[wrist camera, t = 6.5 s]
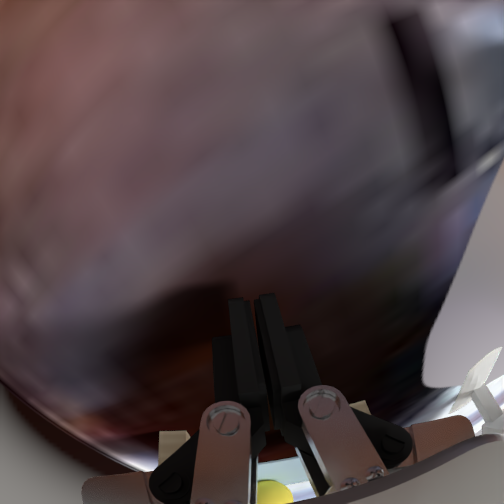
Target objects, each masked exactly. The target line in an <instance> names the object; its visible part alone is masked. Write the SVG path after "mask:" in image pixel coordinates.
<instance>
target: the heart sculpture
mask: <svg viewBox="0 0 504 504" xmlns="http://www.w3.org/2000/svg"><path fill="white" fill-rule="evenodd" d="M501 349H502V347H500V348H497V349H495V350H493V351H491V352H490V353H488V354H487V355H486V356H485V357H484V358H483V359H481V360H480V361H479V362H478V363H477V364H476V365H475V366H474V367H473V368H472V369H471V370H470V371H469V372H468V374H467V376H466V379H465V381H464V383H463V385H462V388H461V390H460V392H459V394H458V396H457V398H456V401H455V403H454V405H453V407H452V409H451V411H450V413H452V412H455V411H457V410H459V409H460V408H462V407H464V406H465V405H466V404H468V403H469V402H470V401H471V400H473V402H474V403H475V405H476V407H477V409H478V410H479V412H480V414H481V416H482V417H483V419H484V421H485V424H483V425H482V435H483V434H489V433H502V434H504V409H503V410H501V408H500V407H499V405H498V403H497V402H496V400H495V399H494V397H493V395H492V394H491V392H490V391H489V389H488V387H487V386H486V384H485V382H486V380H487V377H488V376H489V374H490V372H491V370H492V368H493V366H494V364H495V362H496V360H497V358H498V355H499V353H500V351H501ZM450 413H449V414H450Z"/></svg>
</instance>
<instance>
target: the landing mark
mask: <svg viewBox="0 0 504 504" xmlns="http://www.w3.org/2000/svg"><path fill="white" fill-rule="evenodd" d="M264 480H273V481H277V482H280V483H282V484H283V485H289V484H294V483H299V482H304V481H308V480H309V479H308V477H307V475H306V472H305V470H304V468H303V466H302V463H301V461H300V459H299V456H297V457H292V458H287V459H281V460H275V461H269V462H263V463H258V480H257V482H259V481H264Z"/></svg>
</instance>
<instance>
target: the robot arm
mask: <svg viewBox="0 0 504 504" xmlns="http://www.w3.org/2000/svg"><path fill="white" fill-rule="evenodd" d="M228 304H229V314H230V324H231V333H232V335H228V336H220V337H213V338H212V352H213V373H214V391H215V404H213V405H211V406H210V407H208V408H207V409H206V411H205V412H204V413H203V416H202V419H201V424H200V429H199V430H198V431H197V432H196V433H195V434H194V435H193V436H192V437H191V438H190V439H188V440H187V441H186V442H185V443H184V444H183V445H182V446H181V447H180V448H179V449H177V450H176V451H175V452H174V453H173V454H172V455H171V456H170V457H168V458H167V459H166V460H165V461H164V462H163V463H161V464H160V465H159V466H158V467H157V468H156V469H155V470H154V471H150V472H143V471H139V472H133V473H126V474H118V475H109V476H101V477H100V476H99V477H93V478H89V479H88V480H86V481H85V482H84V484H83V486H82V500H83V504H257V480H258V454H259V452H260V451H261V450H262V449H263V448H264V447H265V446H266V438H265V431H270V426H269V414H268V402H267V395H268V400H269V405H270V410H271V415H272V420H273V425H274V429H275V430H277V429H280V430H281V435H282V436H284V439H285V442H287V443H289V444H291V445H293V446H294V447H295V450H296V452H297V454H298V456H299V459H300V461H301V463H302V466H303V468H304V470H305V472H306V475H307V477H308V479H309V481H310V484H311V486H312V488H313V490H314V492H315V495H316V497H315V498H311V499H307V500H302V501H297V502H292V503H286V504H504V434H502V433H489V434H483V435H479V436H475V434H474V430H473V427H472V424H471V422H470V421H469V420H468V419H467V418H466V417H464V416H461V415H456V416H451V417H447V418H443V419H438V420H433V421H429V422H423V423H418V424H412V425H411V426H410V427H406V428H402V427H400V426H398V425H395V424H393V423H390V422H387V421H385V420H382V419H380V418H377V417H375V416H372V415H370V414H367V413H365V412H362V411H360V410H357V409H355V408H353V407H350V406H349V404H348V402H347V401H346V399H345V397H344V396H343V395H342V393H341V392H340V391H339V390H337V389H335V388H334V387H330V386H325V385H322V384H321V381H320V378H319V375H318V372H317V369H316V366H315V364H314V361H313V358H312V355H311V352H310V349H309V346H308V344H307V341H306V338H305V335H304V332H303V330H302V327H301V326H300V325H295V326H289V327H284V323H283V320H282V317H281V313H280V310H279V307H278V303H277V300H276V297H275V294H274V293H270V294H263V295H259V299H256V300H254V306H255V316H256V326H257V336H258V343H257V338H256V333H255V328H254V322H253V317H252V312H251V306H250V301H243V297H242V298H235V299H228ZM258 346H259V348H258ZM259 353H260V354H259ZM265 384H266V385H265ZM266 389H267V392H266Z"/></svg>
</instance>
